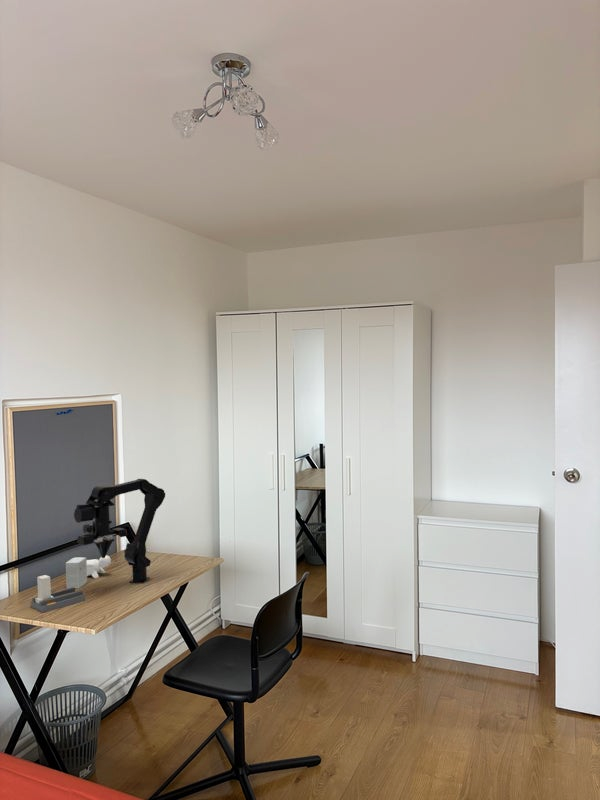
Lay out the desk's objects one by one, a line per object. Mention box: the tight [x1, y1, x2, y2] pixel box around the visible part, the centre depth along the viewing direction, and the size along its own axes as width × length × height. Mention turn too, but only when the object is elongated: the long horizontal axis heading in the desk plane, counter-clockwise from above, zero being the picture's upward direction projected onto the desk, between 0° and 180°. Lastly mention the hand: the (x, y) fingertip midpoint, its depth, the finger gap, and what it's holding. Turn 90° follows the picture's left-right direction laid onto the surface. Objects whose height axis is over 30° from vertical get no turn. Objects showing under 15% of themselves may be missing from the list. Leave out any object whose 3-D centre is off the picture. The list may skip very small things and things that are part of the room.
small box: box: [65, 557, 88, 589], centre depth 249 cm, size 8×6×10 cm
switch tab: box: [35, 574, 53, 604], centre depth 223 cm, size 5×4×9 cm
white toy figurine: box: [86, 554, 112, 579], centre depth 262 cm, size 9×8×15 cm
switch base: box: [30, 587, 86, 613], centre depth 227 cm, size 16×10×4 cm, turn 137°
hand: (103, 557), depth 241 cm, fingers closed
